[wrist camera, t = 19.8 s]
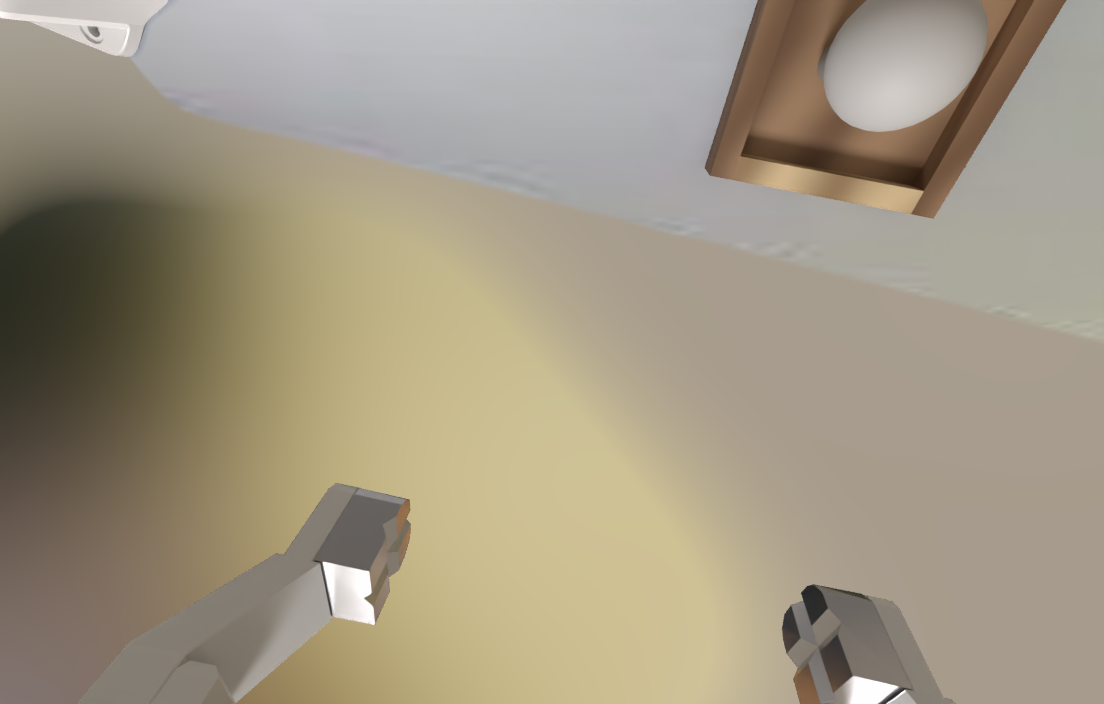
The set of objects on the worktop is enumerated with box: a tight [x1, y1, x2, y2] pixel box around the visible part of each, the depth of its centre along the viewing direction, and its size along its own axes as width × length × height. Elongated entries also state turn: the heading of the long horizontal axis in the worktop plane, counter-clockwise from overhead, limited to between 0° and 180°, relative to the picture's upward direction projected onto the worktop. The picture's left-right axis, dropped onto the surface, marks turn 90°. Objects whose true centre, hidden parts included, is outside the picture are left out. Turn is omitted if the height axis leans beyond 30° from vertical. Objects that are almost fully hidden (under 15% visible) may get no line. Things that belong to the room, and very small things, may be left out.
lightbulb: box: [818, 0, 988, 132], centre depth 24 cm, size 6×6×11 cm
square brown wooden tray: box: [705, 0, 1066, 218], centre depth 29 cm, size 15×15×2 cm
